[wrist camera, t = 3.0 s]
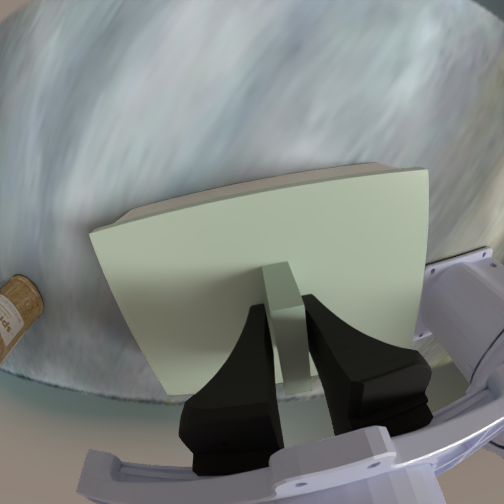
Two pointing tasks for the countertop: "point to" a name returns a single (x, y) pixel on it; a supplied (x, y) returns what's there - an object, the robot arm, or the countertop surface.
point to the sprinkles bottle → (17, 312)
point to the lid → (269, 270)
